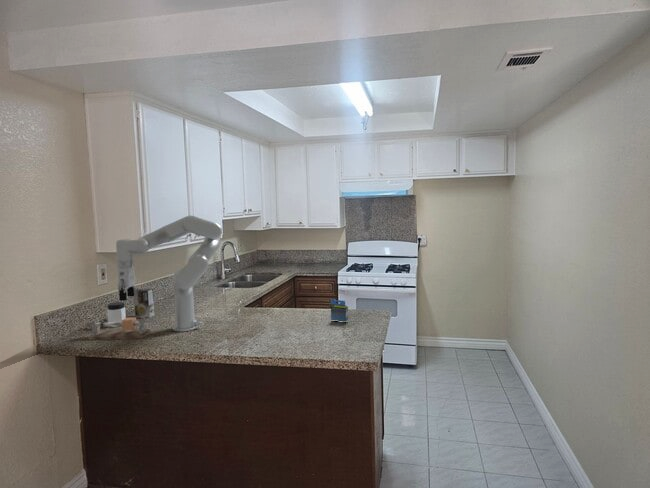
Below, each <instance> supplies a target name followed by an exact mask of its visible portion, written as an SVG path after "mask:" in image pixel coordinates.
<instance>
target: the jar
mask: <svg viewBox="0 0 650 488" xmlns="http://www.w3.org/2000/svg"><path fill="white" fill-rule="evenodd" d="M106 313H107V315H106V316H107V323H109V322H122V320H123V319H125V318H127V317H126V314H127V313H126V307H125V302H123V301H115V302H109V303H108V304H107V310H106ZM109 327H110V328H117V327H119V326H109Z"/></svg>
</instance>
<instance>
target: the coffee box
mask: <svg viewBox="0 0 650 488" xmlns="http://www.w3.org/2000/svg"><path fill="white" fill-rule="evenodd" d="M154 297H155V296H154V288H138V289H136V290H134V296H133V301H134V314H135V317H136V319H141V318H145V319H149V318H152V317H154V316H155V313H156V311H155V300H154V299H155V298H154Z"/></svg>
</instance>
